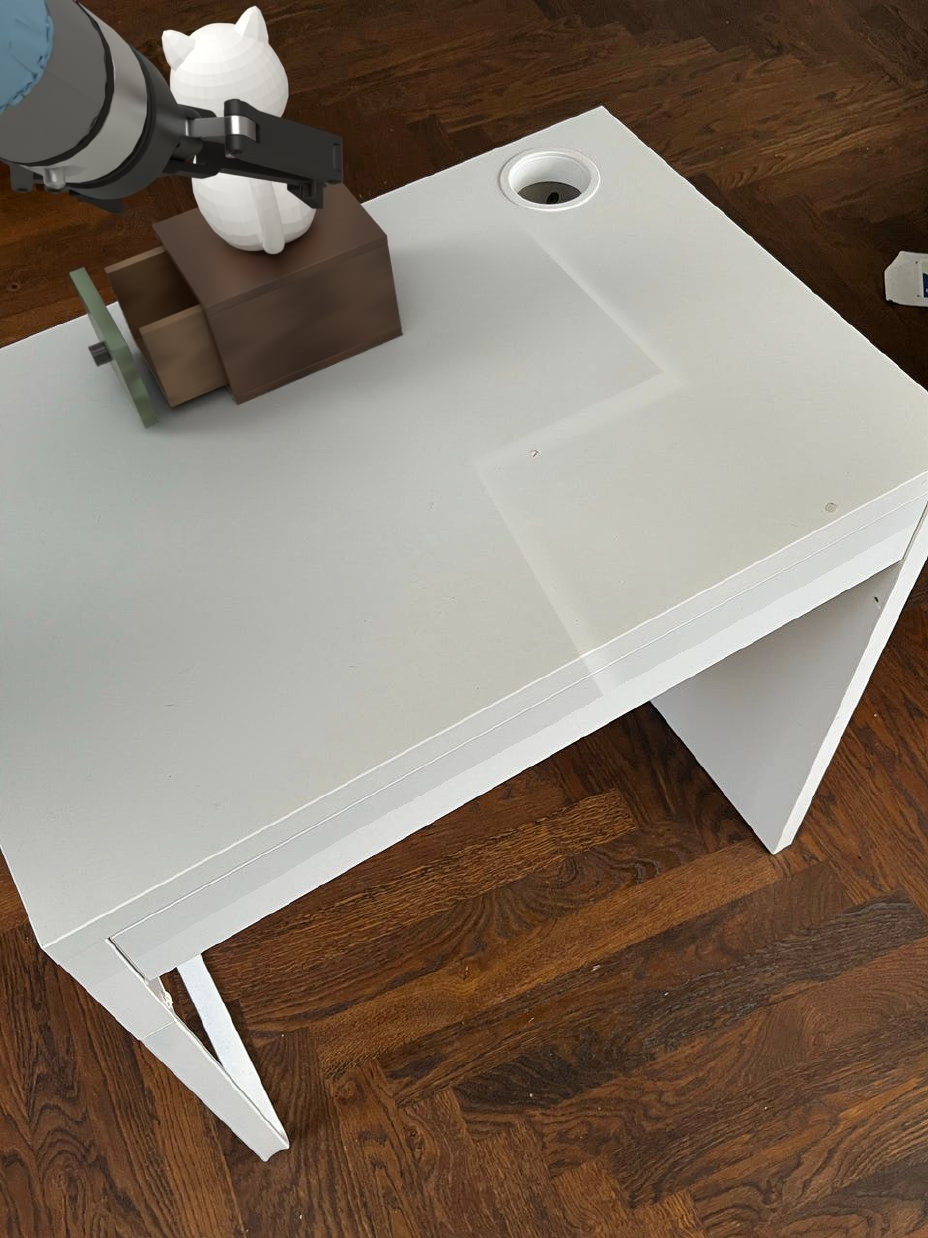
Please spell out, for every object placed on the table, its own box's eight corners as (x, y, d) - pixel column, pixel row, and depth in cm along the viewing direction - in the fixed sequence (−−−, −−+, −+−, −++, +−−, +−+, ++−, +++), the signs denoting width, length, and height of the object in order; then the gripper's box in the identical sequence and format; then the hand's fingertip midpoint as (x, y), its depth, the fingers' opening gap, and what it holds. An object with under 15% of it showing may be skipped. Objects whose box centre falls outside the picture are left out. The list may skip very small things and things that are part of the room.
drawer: (130, 434, 88) (95, 357, 81) (89, 356, 93) (53, 278, 87) (305, 361, 91) (284, 281, 84) (255, 289, 96) (232, 209, 90)
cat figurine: (301, 169, 91) (258, -27, 79) (350, 259, 84) (312, 60, 72) (192, 202, 89) (131, 8, 77) (233, 296, 82) (173, 100, 70)
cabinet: (237, 405, 90) (205, 307, 82) (186, 322, 96) (151, 224, 88) (403, 334, 93) (387, 234, 85) (342, 258, 99) (322, 158, 91)
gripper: (-162, 192, 57) (38, 252, 78) (334, 180, 54) (404, 245, 75) (-177, 29, 55) (30, 134, 76) (331, 8, 53) (402, 123, 74)
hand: (216, 189), depth 76 cm, fingers open, 13 cm apart
